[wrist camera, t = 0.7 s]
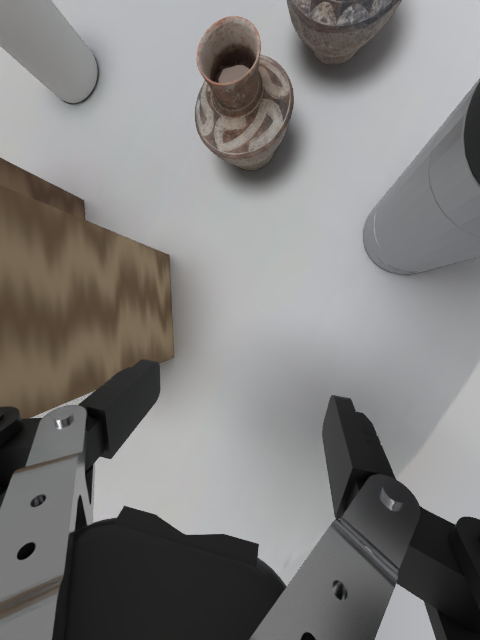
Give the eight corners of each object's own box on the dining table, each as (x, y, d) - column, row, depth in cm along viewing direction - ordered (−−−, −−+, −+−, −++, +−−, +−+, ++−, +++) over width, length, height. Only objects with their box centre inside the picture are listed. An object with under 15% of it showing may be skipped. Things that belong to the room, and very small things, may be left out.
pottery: (196, 155, 32) (142, 69, 21) (334, -36, 28) (364, -282, 16) (260, 208, 31) (240, 149, 19) (416, 17, 27) (512, -210, 15)
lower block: (117, 259, 35) (-186, 178, 13) (168, 255, 34) (-78, 152, 11) (123, 356, 36) (-156, 439, 14) (174, 357, 34) (-50, 451, 12)
